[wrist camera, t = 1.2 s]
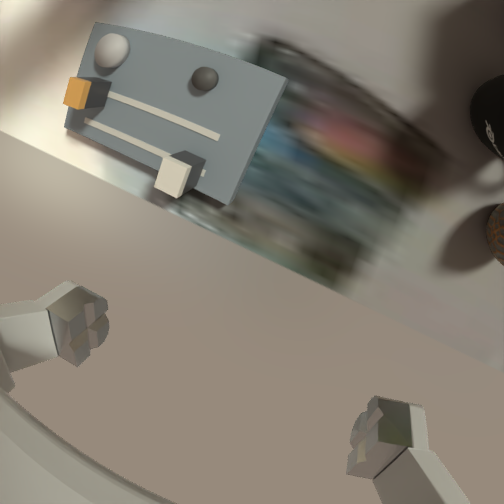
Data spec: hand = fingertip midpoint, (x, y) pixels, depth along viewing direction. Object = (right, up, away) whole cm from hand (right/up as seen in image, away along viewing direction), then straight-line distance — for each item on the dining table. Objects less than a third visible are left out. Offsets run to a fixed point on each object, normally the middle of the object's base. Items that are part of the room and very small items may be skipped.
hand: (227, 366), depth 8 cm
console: (-9, +20, +23) cm, 31 cm away
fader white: (-6, +12, +23) cm, 26 cm away
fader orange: (-16, +21, +21) cm, 34 cm away
